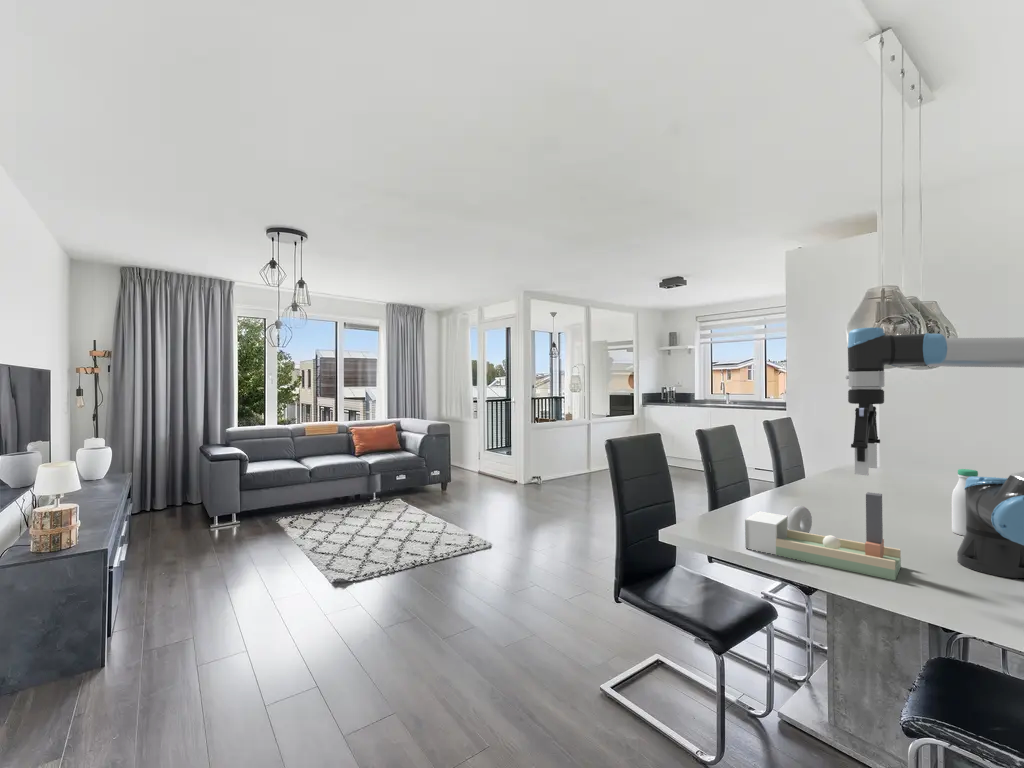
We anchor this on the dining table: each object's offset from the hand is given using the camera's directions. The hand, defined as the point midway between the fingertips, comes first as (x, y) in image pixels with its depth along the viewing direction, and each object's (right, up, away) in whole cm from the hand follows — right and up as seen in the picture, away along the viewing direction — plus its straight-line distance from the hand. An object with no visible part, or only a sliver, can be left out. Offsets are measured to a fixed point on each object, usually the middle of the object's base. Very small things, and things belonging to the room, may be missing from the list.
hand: (866, 471), depth 126 cm
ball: (-5, -20, +5) cm, 22 cm away
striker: (+1, -22, -1) cm, 22 cm away
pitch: (-8, -25, +7) cm, 27 cm away
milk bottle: (+51, -25, +26) cm, 62 cm away
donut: (-3, -25, +24) cm, 35 cm away
